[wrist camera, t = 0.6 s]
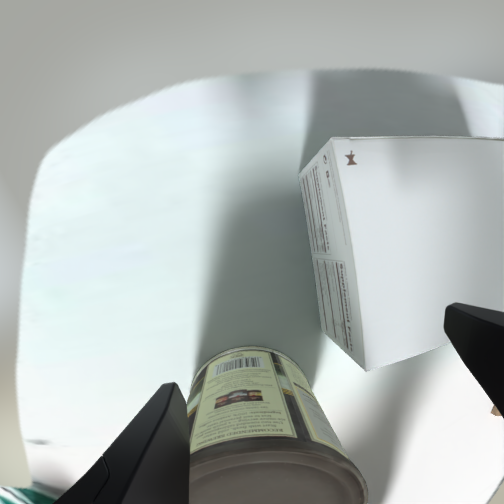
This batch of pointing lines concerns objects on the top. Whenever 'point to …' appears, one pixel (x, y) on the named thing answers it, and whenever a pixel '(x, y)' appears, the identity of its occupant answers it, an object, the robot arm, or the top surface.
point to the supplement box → (403, 238)
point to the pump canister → (496, 412)
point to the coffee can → (264, 436)
